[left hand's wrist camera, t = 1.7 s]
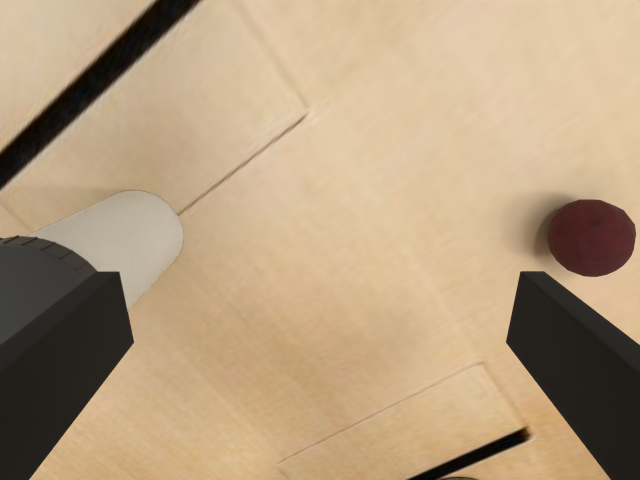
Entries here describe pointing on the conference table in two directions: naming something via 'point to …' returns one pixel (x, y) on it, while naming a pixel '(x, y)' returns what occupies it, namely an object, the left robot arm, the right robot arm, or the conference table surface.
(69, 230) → the jar
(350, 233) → the conference table surface
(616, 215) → the plum
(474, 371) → the conference table surface
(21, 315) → the lid
